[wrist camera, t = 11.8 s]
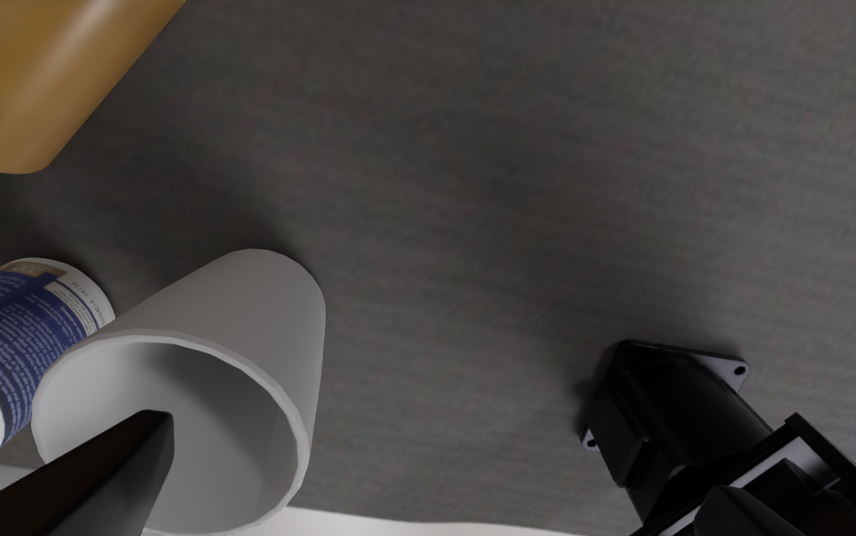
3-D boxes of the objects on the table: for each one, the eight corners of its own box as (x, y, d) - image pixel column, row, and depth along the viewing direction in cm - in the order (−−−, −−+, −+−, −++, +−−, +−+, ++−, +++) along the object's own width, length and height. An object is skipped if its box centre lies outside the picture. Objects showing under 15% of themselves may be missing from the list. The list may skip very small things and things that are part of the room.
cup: (360, 244, 20) (323, 360, 12) (329, 424, 24) (286, 601, 16) (176, 208, 19) (9, 307, 11) (174, 401, 23) (49, 574, 15)
